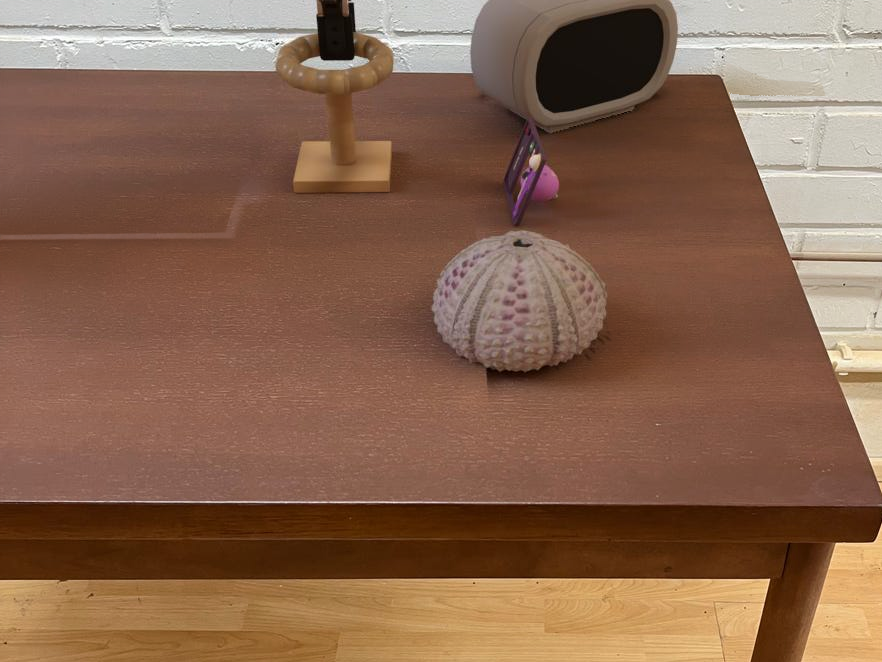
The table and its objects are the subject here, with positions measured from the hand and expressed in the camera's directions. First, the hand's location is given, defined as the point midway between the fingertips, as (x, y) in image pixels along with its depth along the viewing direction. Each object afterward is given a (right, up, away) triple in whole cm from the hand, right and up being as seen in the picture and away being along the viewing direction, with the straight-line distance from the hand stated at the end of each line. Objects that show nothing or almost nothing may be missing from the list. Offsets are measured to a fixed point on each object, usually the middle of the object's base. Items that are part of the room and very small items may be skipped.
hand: (338, 51), depth 95 cm
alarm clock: (+24, 0, +16) cm, 28 cm away
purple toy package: (+18, -15, -1) cm, 24 cm away
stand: (0, -10, +4) cm, 11 cm away
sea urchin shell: (+16, -29, -17) cm, 38 cm away
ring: (0, -2, -3) cm, 4 cm away
